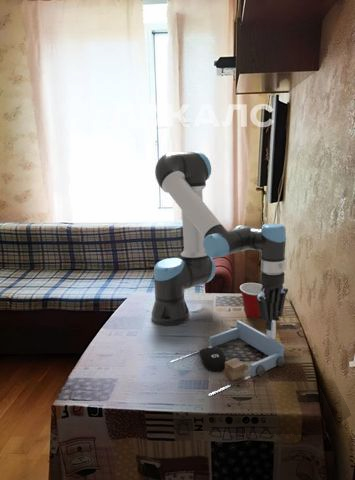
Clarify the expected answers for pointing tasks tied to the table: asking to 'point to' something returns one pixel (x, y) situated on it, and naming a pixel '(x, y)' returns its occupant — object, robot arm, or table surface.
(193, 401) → the table surface
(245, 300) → the plastic cup
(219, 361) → the computer mouse
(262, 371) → the blue u-shaped bracket
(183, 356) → the track
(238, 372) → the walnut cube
